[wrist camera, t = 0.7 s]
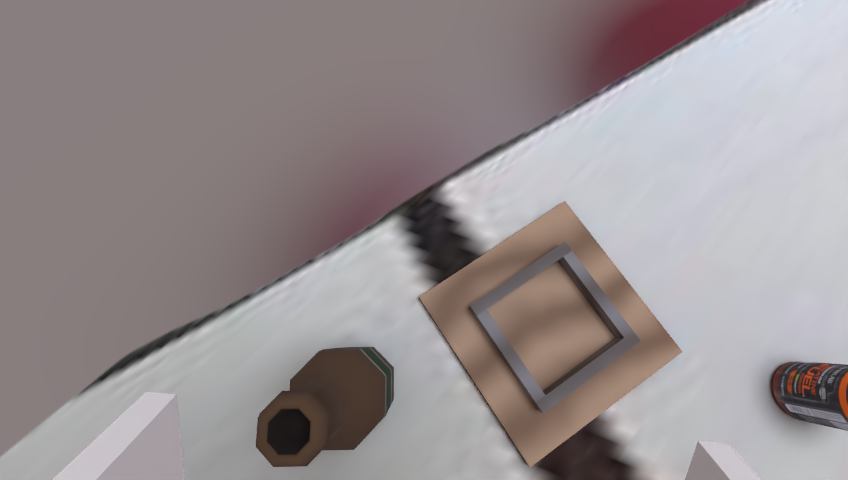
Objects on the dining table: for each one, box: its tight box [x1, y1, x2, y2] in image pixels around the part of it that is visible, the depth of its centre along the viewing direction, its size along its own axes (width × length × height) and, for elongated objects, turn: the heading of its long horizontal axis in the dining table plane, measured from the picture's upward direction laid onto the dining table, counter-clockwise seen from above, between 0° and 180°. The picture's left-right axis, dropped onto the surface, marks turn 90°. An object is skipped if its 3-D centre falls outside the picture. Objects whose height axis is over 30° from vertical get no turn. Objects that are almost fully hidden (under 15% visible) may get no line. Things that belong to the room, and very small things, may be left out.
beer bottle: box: [256, 347, 394, 467], centre depth 31 cm, size 8×8×24 cm
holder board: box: [419, 201, 682, 467], centre depth 43 cm, size 20×20×3 cm
